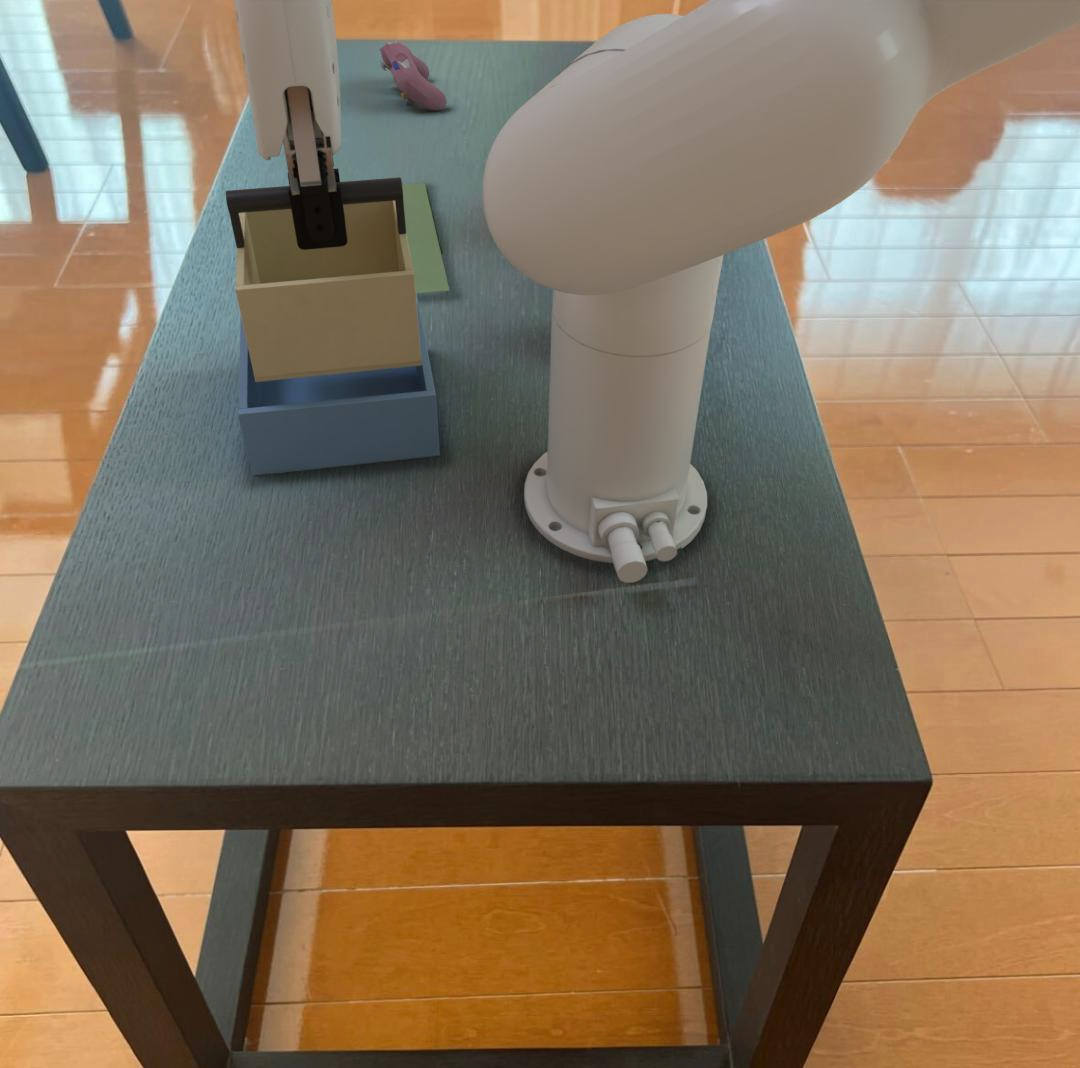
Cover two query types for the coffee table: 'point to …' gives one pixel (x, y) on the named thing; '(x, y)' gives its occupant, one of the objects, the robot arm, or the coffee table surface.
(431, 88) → the pink curved piece
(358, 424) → the blue bin
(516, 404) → the coffee table surface
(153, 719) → the coffee table surface
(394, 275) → the cream bin
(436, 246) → the mat
